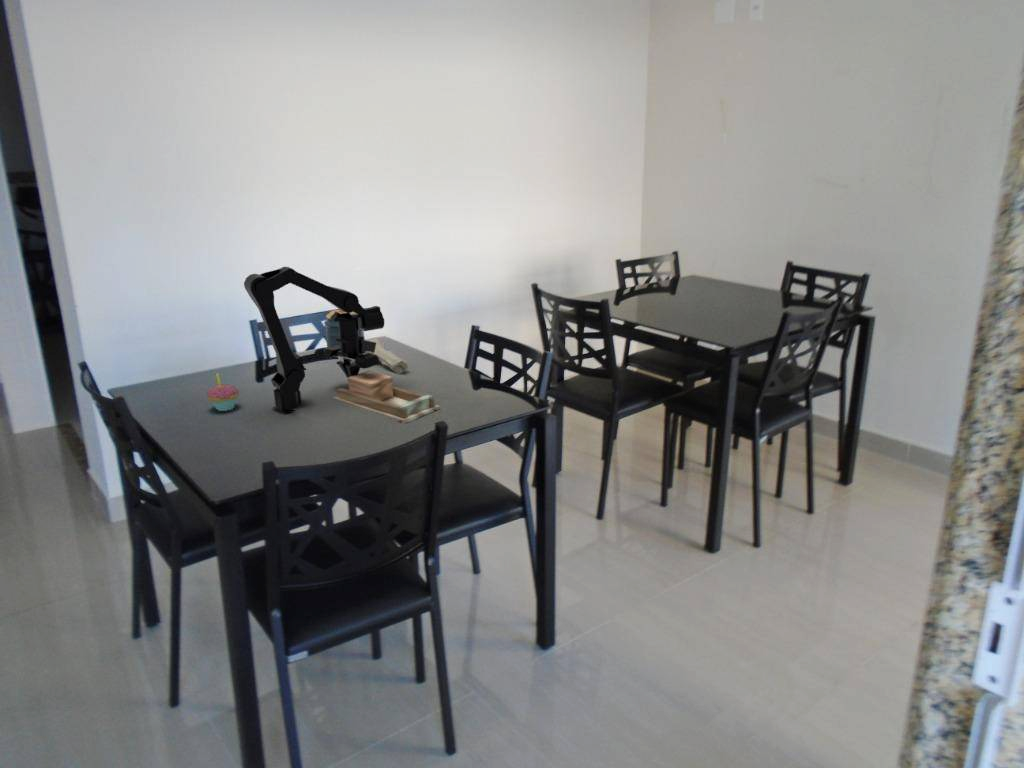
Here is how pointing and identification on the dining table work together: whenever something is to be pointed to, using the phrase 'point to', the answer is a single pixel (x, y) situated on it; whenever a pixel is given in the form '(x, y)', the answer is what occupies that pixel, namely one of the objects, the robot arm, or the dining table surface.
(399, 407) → the bay
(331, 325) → the canister
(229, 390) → the cupcake
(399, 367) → the faceted club
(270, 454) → the dining table surface
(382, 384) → the crate
